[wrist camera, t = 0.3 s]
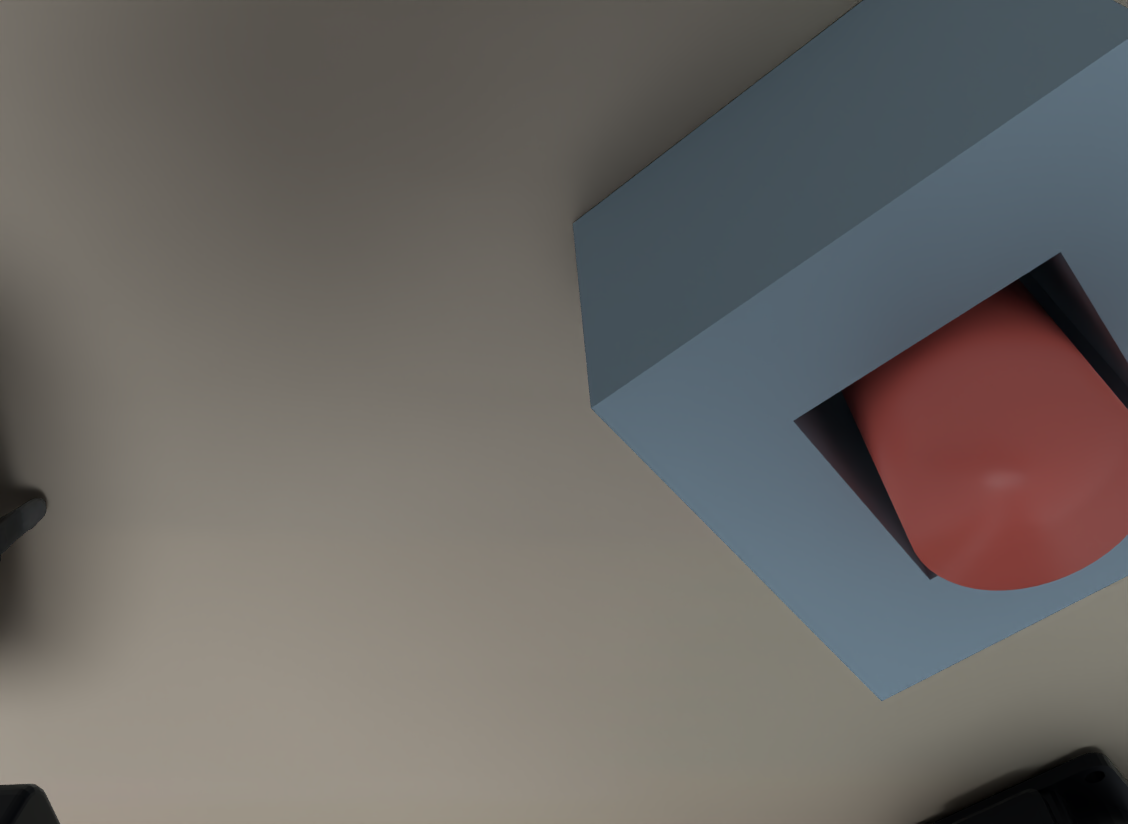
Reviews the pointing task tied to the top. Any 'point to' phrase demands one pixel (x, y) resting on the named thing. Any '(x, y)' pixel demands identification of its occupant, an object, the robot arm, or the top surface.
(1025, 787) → the robot arm
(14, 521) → the alarm clock
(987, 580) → the button
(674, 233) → the blue button housing
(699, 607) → the top surface
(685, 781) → the top surface
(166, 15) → the top surface
